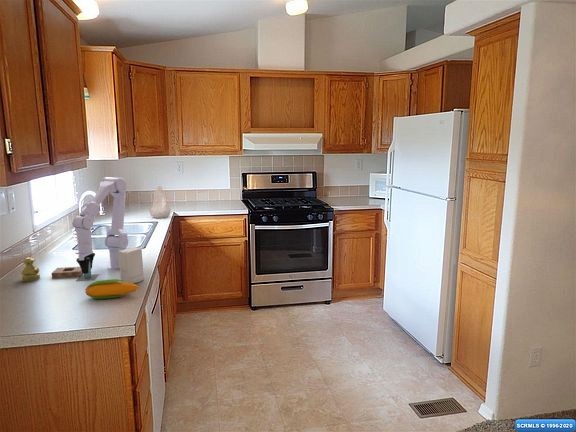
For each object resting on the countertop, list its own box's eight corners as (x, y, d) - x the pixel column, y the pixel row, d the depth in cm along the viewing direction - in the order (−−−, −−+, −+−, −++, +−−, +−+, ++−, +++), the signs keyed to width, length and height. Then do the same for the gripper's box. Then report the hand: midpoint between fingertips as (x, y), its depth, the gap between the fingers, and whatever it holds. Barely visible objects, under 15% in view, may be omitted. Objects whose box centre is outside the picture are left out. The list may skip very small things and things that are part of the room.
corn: (86, 277, 172) (139, 274, 176) (88, 295, 173) (140, 291, 178) (82, 285, 165) (137, 281, 169) (84, 303, 166) (138, 298, 171)
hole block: (85, 272, 203) (84, 266, 202) (80, 277, 195) (80, 271, 194) (58, 273, 201) (57, 267, 200) (52, 279, 193) (51, 273, 192)
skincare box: (136, 277, 195) (134, 246, 192) (144, 280, 191) (142, 248, 189) (120, 283, 188) (117, 250, 185) (128, 285, 185) (125, 252, 182)
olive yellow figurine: (21, 283, 188) (18, 261, 186) (21, 278, 194) (18, 257, 192) (40, 280, 192) (38, 258, 190) (40, 275, 198) (37, 254, 196)
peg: (92, 276, 196) (90, 257, 194) (90, 278, 193) (88, 259, 191) (85, 276, 195) (83, 257, 194) (83, 278, 192) (81, 259, 191)
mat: (99, 274, 199) (99, 273, 199) (94, 281, 191) (94, 280, 190) (81, 275, 198) (81, 275, 198) (75, 282, 189) (75, 281, 189)
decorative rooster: (150, 216, 346) (148, 185, 342) (170, 215, 351) (168, 184, 346) (149, 221, 323) (147, 189, 318) (171, 220, 327) (169, 188, 323)
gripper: (79, 238, 197) (82, 267, 200) (69, 246, 183) (72, 277, 186) (95, 238, 199) (98, 266, 201) (87, 245, 185) (90, 276, 187)
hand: (87, 271), depth 194 cm, fingers open, 5 cm apart
